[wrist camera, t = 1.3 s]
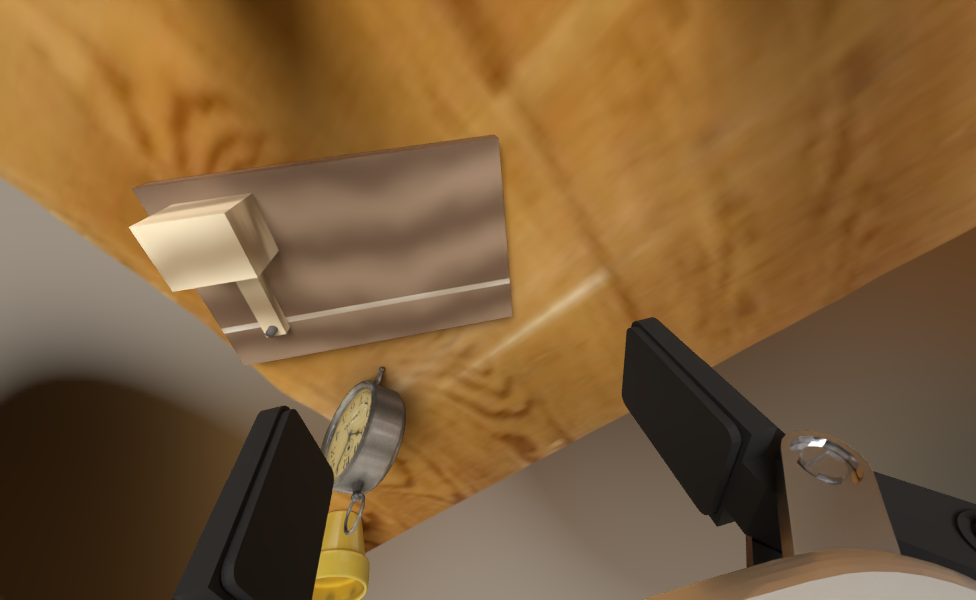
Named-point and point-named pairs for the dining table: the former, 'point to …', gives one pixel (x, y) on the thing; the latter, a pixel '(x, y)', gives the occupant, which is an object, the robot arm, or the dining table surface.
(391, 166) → the wooden cutting board
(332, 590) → the plant pot
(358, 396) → the alarm clock
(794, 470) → the robot arm
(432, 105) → the dining table surface
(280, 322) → the cream square mallet
